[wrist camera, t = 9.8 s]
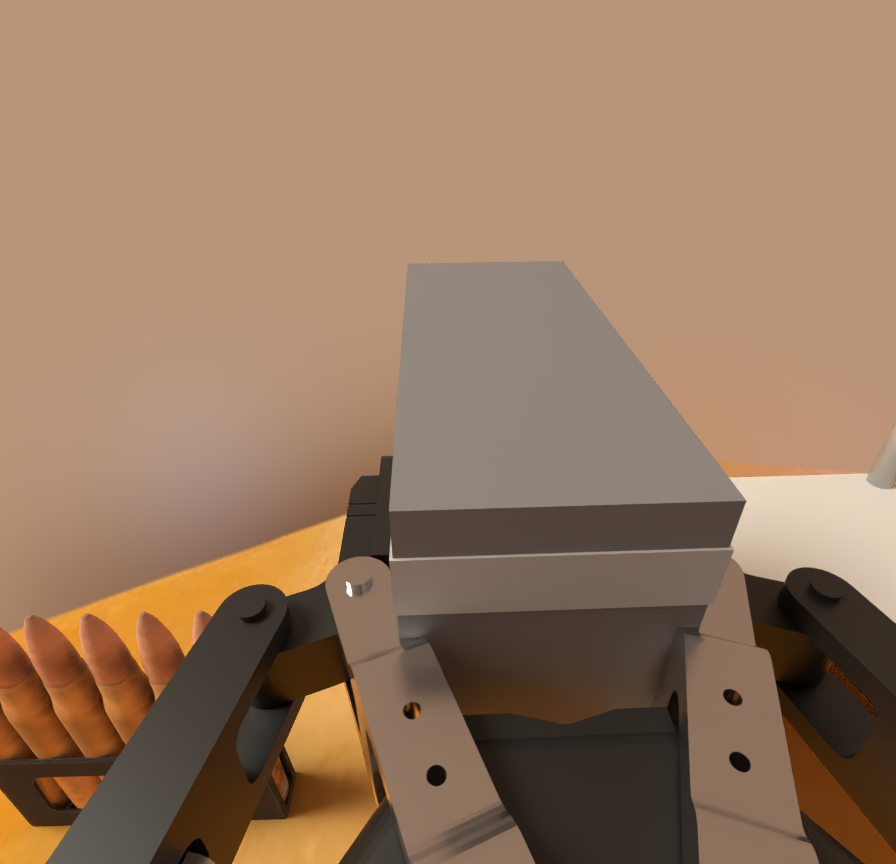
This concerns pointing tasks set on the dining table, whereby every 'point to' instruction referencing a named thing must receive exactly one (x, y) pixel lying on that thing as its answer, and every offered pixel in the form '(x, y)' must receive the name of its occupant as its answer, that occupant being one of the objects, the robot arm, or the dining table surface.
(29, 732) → the ammunition clip
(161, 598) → the dining table surface
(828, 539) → the trolley
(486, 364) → the grey lidded box
